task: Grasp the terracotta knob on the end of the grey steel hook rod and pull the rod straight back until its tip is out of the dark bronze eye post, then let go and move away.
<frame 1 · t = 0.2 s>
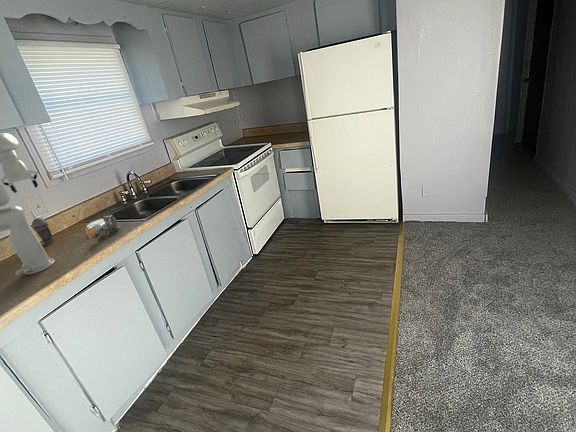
hand: (26, 189, 172), 31 cm above the countertop, tool pointing down, fingers open, 9 cm apart
eye post: (114, 230, 177), on the countertop
ramekin: (100, 230, 181), on the countertop
cradle: (104, 236, 170), on the countertop
hook rod: (102, 226, 169), point 6 cm above the countertop, slide at 0.0 cm
beverage cup: (50, 243, 177), on the countertop
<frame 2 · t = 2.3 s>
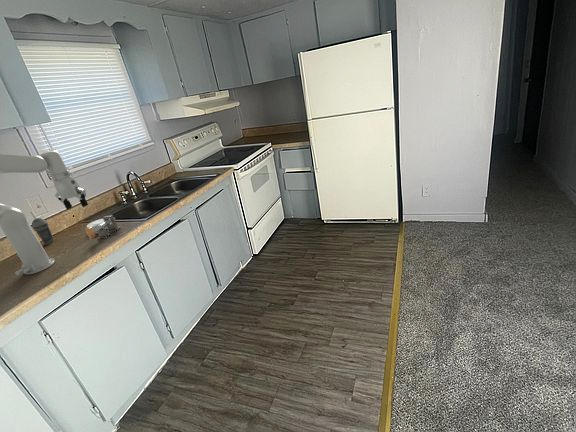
hand: (77, 207, 157), 21 cm above the countertop, tool pointing down, fingers open, 9 cm apart
nothing on the countertop moved.
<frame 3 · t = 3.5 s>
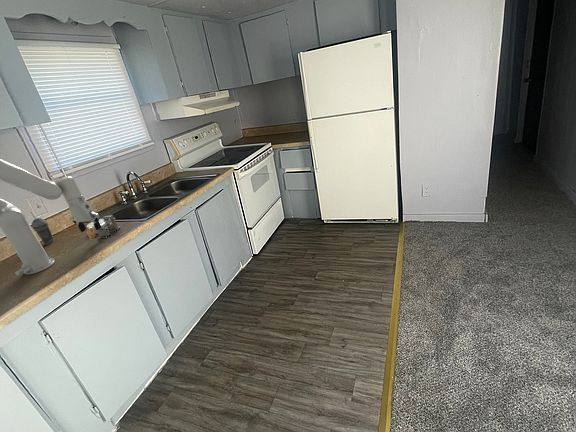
hand: (91, 229, 161), 8 cm above the countertop, tool pointing down, fingers open, 9 cm apart
nothing on the countertop moved.
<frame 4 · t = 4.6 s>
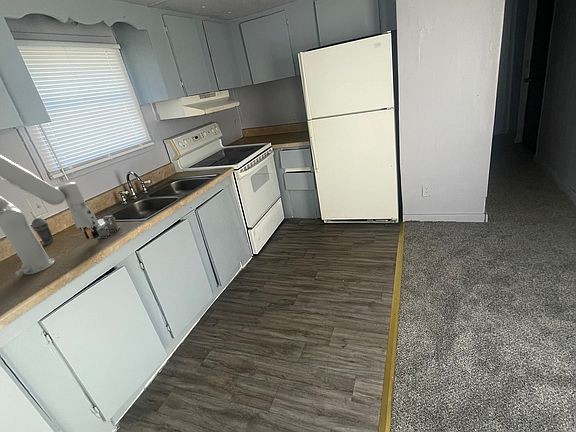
hand: (93, 237, 163), 3 cm above the countertop, tool pointing down, fingers closed on hook rod, 3 cm apart
hook rod: (102, 226, 169), point 6 cm above the countertop, slide at 0.0 cm, touching gripper
everything else where it was.
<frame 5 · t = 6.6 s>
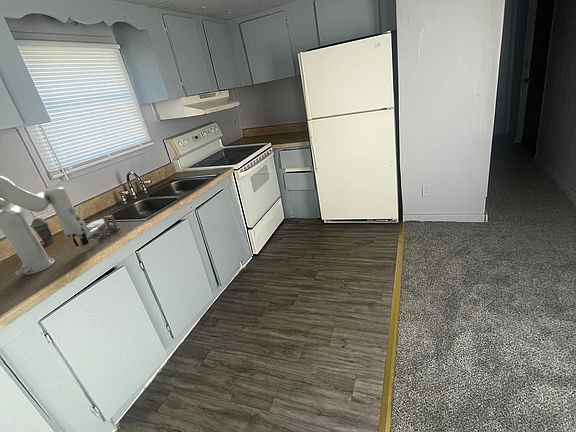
hand: (82, 244, 156), 3 cm above the countertop, tool pointing down, fingers closed on hook rod, 3 cm apart
hook rod: (92, 232, 162), point 6 cm above the countertop, slide at 7.5 cm, touching gripper
everything else where it was.
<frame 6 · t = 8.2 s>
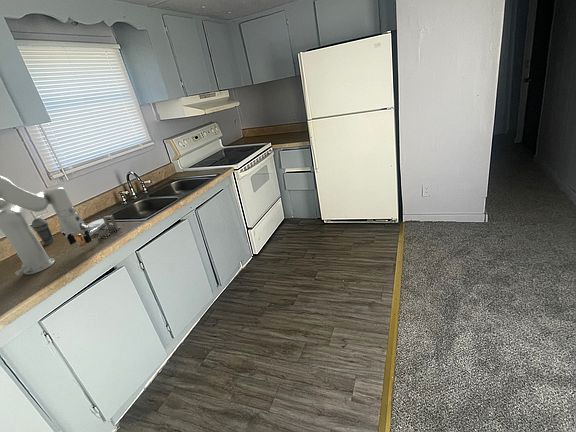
hand: (81, 242, 155), 5 cm above the countertop, tool pointing down, fingers open, 9 cm apart
hook rod: (92, 232, 162), point 6 cm above the countertop, slide at 7.5 cm
everything else where it was.
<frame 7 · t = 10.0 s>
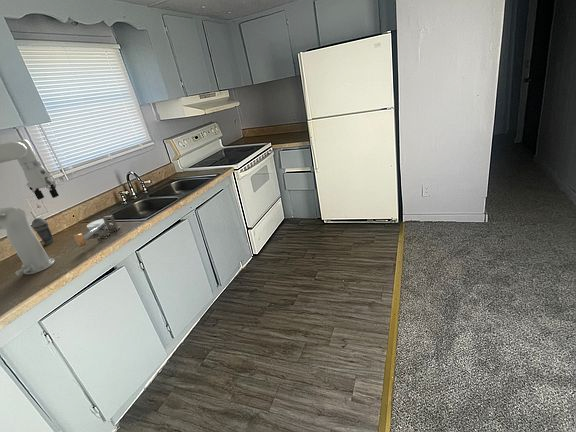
hand: (48, 197, 156), 28 cm above the countertop, tool pointing down, fingers open, 9 cm apart
nothing on the countertop moved.
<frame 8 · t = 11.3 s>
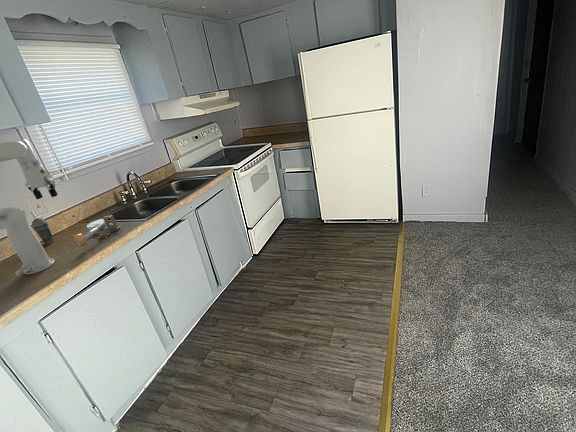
hand: (47, 197, 157), 28 cm above the countertop, tool pointing down, fingers open, 9 cm apart
nothing on the countertop moved.
at the end: hook rod slide at 7.5 cm; the gripper is holding nothing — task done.
